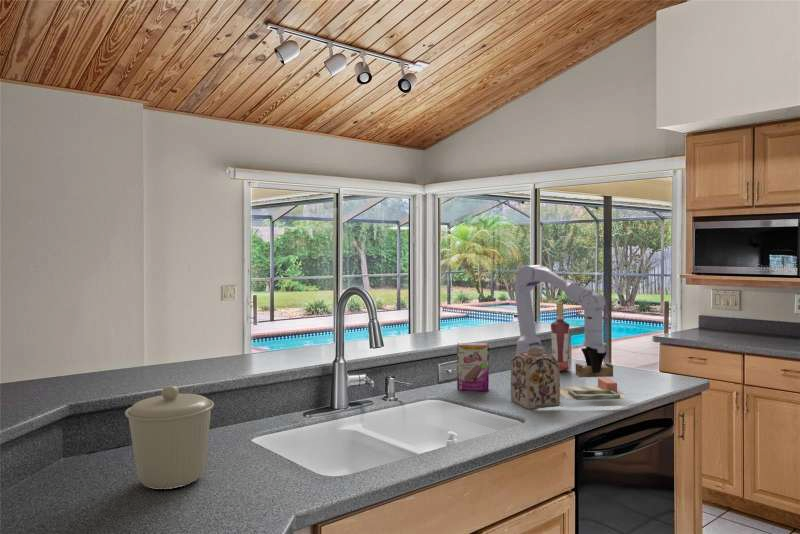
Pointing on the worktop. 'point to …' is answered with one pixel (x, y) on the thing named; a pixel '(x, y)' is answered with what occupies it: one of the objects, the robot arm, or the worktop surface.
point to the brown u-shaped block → (587, 371)
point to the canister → (170, 437)
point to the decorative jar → (535, 379)
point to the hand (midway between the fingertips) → (593, 371)
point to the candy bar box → (472, 367)
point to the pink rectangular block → (607, 384)
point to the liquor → (560, 339)
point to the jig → (589, 393)
